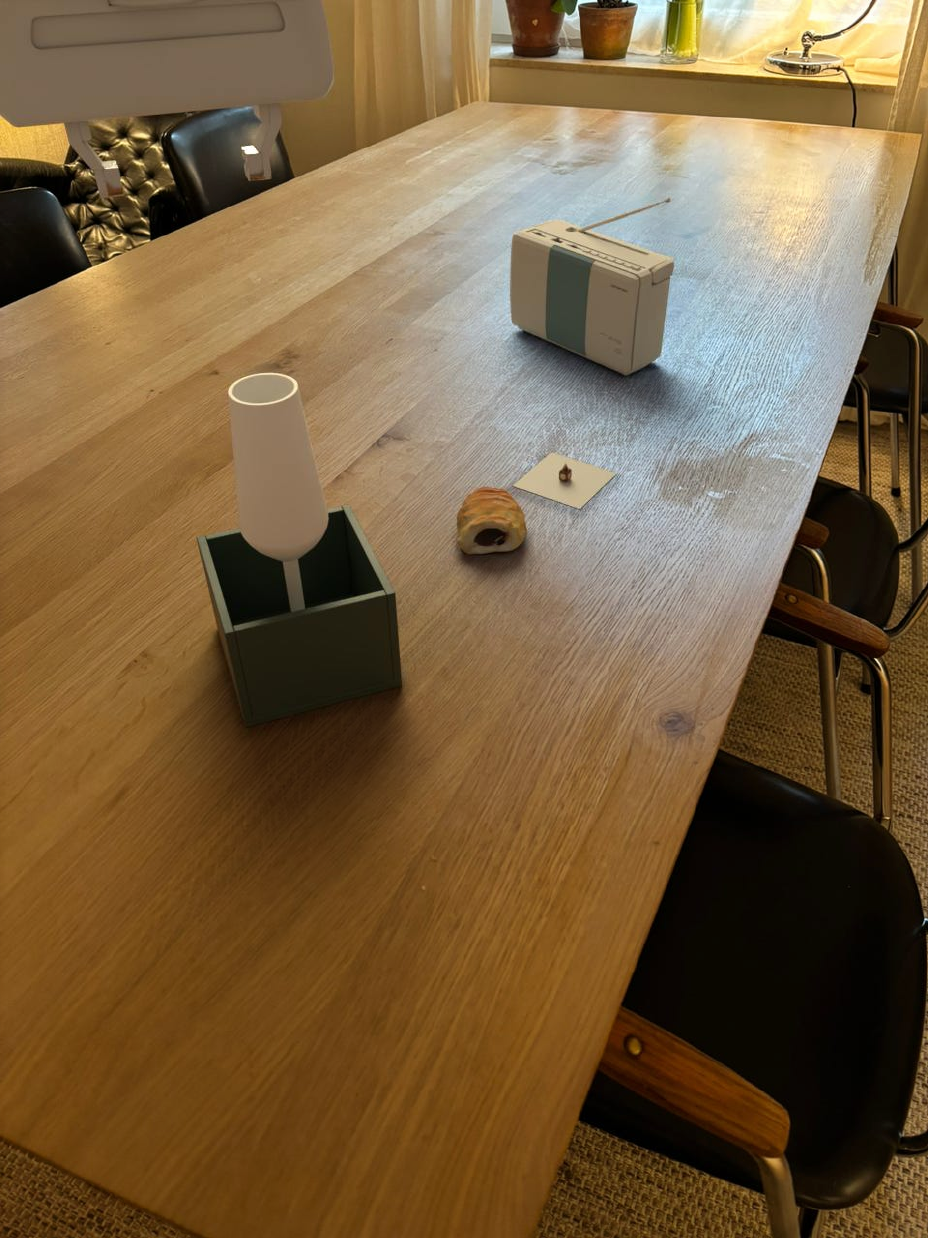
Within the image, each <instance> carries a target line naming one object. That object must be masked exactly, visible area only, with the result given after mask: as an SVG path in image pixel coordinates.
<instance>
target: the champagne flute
mask: <svg viewBox="0 0 928 1238" xmlns="http://www.w3.org/2000/svg"><path fill="white" fill-rule="evenodd" d="M227 394H228V405H229V406H228V407H229V418H230V419H229V420H230V433H231V444H232V456H233V468H234V481H235V491H236V492H235V495H236V505H237V506H236V507H237V518H238V528H239V529H240V531H241V534H242V536H243V537H244V539H245V540H246V541H247V542H248V543H249V544H250V545H251V546H252V547H253V548H255V549H256V550H257V551H259V552H260V553H262V554H264V555H266V556H269V557H271V558H274V559H277V560H279V561H283V566H284V572H285V579H286V585H287V591H288V597H289V603H290V609H291V612H294V611H298V610H302V609H305V604H304V598H303V591H302V585H301V578H300V571H299V565H298V559H299V558H301V557H302V556H303V555H304V554H306V553H307V552H308V551H310V550H311V549H312V548H313V547H314V546H315V545H316V544H317V543H318V542H319V540H320V539H321V538H322V536H323V534H324V532H325V530H326V528H327V524H328V512H327V509H328V508H327V507H328V506H327V503H326V498H325V495H324V490H323V486H322V483H321V482H322V481H321V477H320V474H319V469H318V465H317V462H316V461H317V460H316V457H315V451H314V449H313V445H312V440H311V437H310V436H311V435H310V431H309V427H308V423H307V418H306V415H305V409H304V405H303V401H302V398H301V393H300V388H299V384H298V382H297V381H296V380H295V378H293V377H292V376H289V375H287V374H283V373H277V372H262V373H253V374H250V375H247V376H244V377H242V378H239V379H237V380H235V381H234V382H233V383H232V384H231V385H230V386H229V388H228V393H227Z"/></svg>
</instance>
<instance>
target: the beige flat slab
mask: <svg viewBox="0 0 928 1238" xmlns="http://www.w3.org/2000/svg"><path fill="white" fill-rule="evenodd" d="M616 475H617V473H616V472H613V471H610V470H607V469H605V468H601V467H598V466H595V465H591V464H589V463H586V462H582V461H580V460H576V459H573V458H570V457H567V456H564V455H561V454H557V453H556V452H550V453H549V454H547V455H546V456H545V457H544V458H543V459H542V460H540V462H538V463H537V464H536V465H535V466H533V467H532V468H531V469H530V470H529V471H528V472H527V473H526V474H524V475H523V476H522V477H521V478H520V479H518V480H517V481H516V482H515V483H514V484H512V486H513V487H515V488H517V489H521V490H523V491H526V492H530V493H533V494H536V495H538V496H540V497H544V498H546V499H549V500H553V501H554V502H557V503H562V504H563V505H567V506H568V507H569V506H570V507H572V508H575V509H578V510H580V509H582V508H583V506H584V505H585V504H587V503H588V502H589V501H590V500H591V499H592V498H593V497H594V496H595V495H596V494H597V493H599V491H600V490H602V488H603V487H605V485H606V484H607V483H609V482H610V481H611V480H612V479H613V478H614V477H615V476H616Z"/></svg>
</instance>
